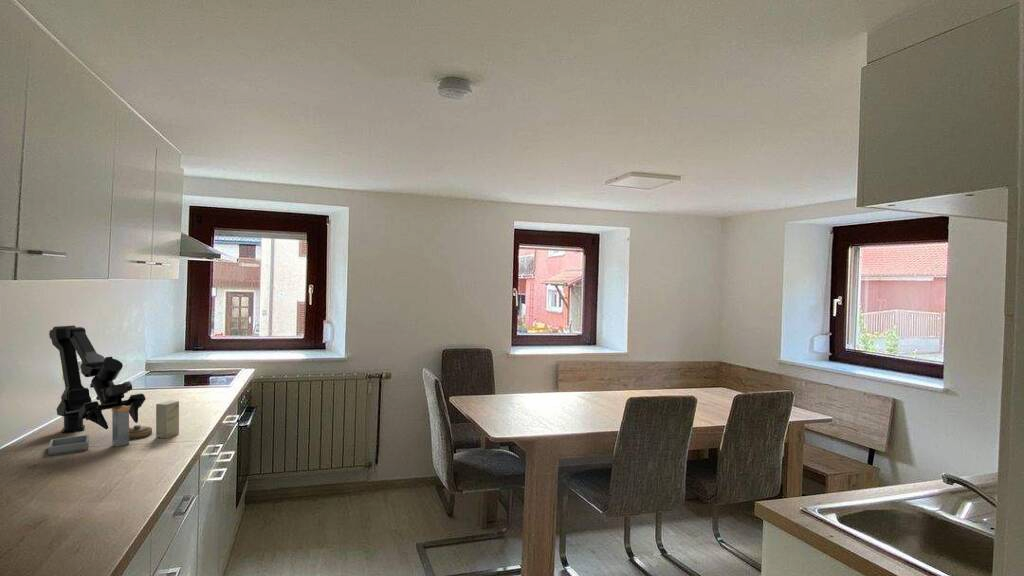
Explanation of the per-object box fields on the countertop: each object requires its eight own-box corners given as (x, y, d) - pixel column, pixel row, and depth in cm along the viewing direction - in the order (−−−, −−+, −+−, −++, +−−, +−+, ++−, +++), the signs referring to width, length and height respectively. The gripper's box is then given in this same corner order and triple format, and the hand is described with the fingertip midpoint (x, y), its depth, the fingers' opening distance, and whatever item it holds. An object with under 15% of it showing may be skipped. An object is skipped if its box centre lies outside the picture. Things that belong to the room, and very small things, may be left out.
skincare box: (165, 438, 198) (165, 404, 198) (155, 437, 199) (155, 404, 199) (179, 433, 204) (179, 400, 204) (169, 432, 205) (169, 400, 205)
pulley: (121, 434, 202) (121, 424, 202) (151, 430, 208) (151, 421, 208) (122, 440, 195) (122, 430, 195) (152, 436, 200) (152, 426, 200)
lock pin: (111, 445, 190) (111, 407, 189) (123, 442, 193) (123, 405, 193) (117, 447, 188) (117, 409, 187) (129, 444, 191) (129, 406, 191)
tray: (51, 446, 187) (51, 439, 187) (89, 441, 193) (89, 434, 193) (48, 455, 179) (48, 447, 179) (88, 449, 185) (88, 442, 185)
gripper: (82, 379, 184) (99, 417, 179) (142, 371, 200) (160, 405, 195) (71, 400, 188) (87, 437, 183) (131, 390, 204) (147, 424, 199)
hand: (122, 425), depth 190 cm, fingers open, 9 cm apart
